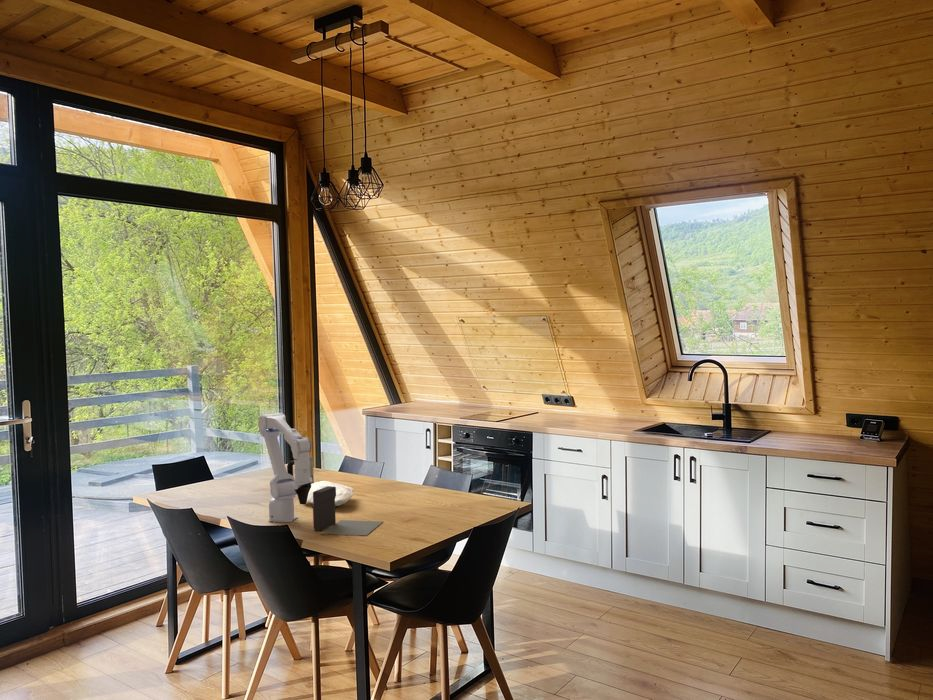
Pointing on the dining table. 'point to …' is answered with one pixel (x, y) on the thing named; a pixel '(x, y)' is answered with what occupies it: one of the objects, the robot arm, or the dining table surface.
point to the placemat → (352, 527)
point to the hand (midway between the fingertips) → (303, 503)
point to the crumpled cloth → (341, 491)
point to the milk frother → (291, 463)
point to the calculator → (324, 508)
